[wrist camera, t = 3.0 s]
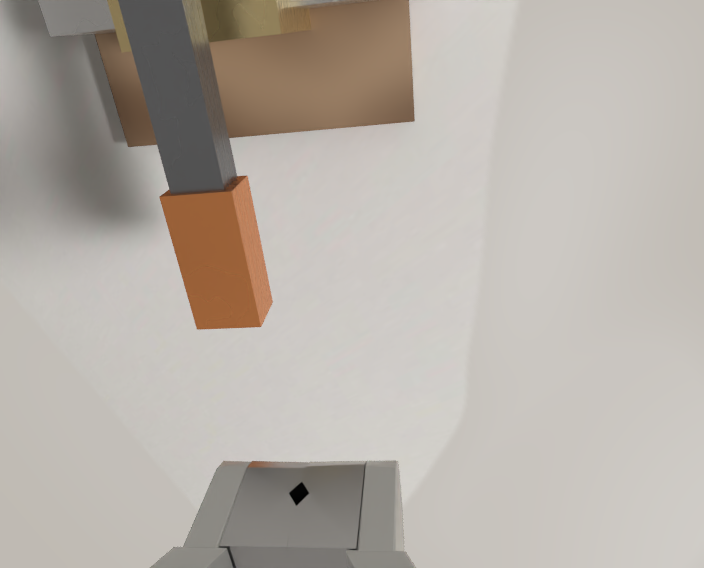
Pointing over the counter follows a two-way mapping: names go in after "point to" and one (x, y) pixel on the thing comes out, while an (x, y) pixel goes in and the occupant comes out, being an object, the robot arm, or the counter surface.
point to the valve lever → (198, 166)
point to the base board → (294, 75)
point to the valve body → (218, 10)
